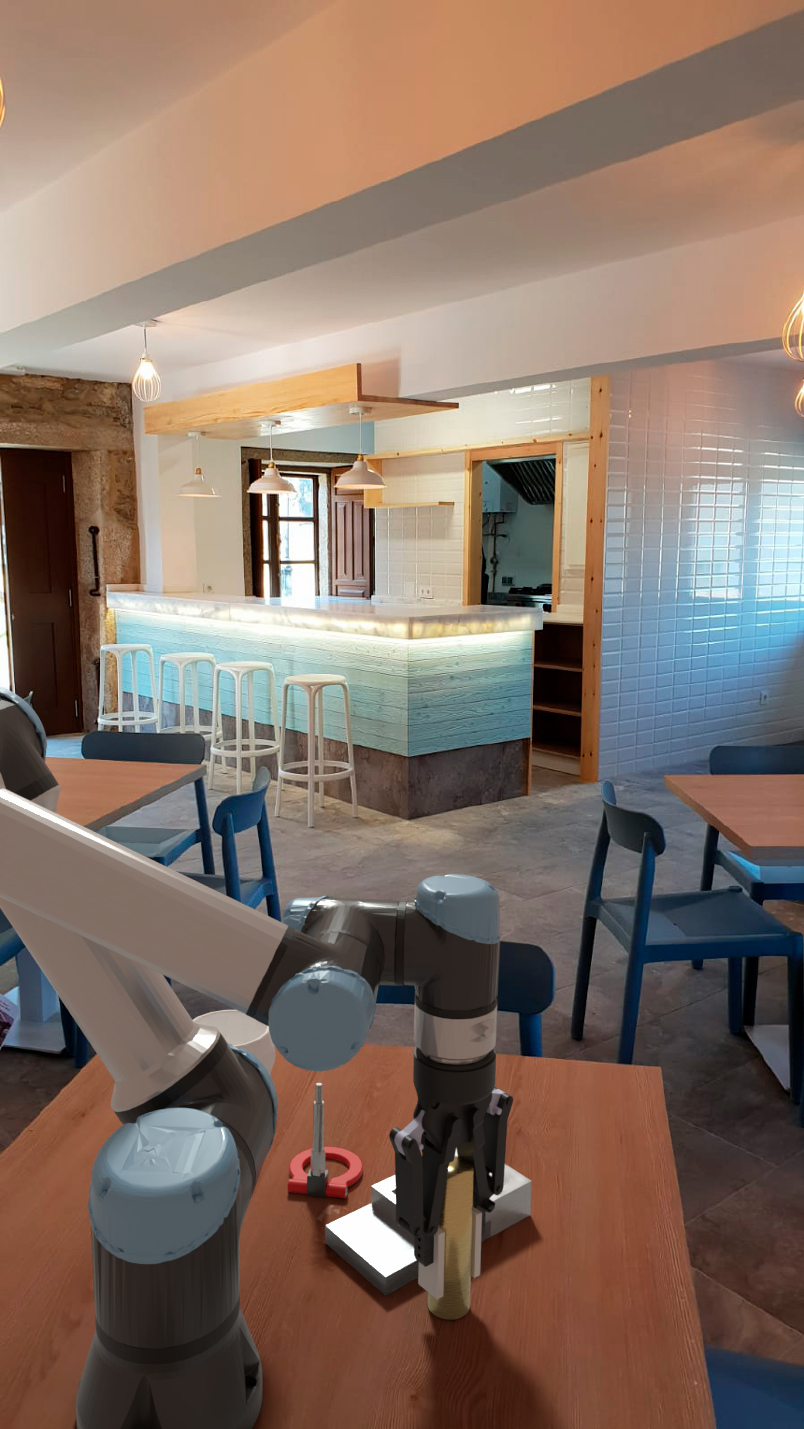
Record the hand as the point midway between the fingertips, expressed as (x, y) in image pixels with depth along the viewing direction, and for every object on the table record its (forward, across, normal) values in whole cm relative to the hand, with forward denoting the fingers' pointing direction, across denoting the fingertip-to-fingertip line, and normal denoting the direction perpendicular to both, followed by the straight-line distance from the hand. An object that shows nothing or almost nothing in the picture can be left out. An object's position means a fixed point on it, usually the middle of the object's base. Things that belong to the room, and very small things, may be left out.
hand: (449, 1278), depth 98 cm
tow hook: (+3, +3, +25) cm, 25 cm away
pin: (+3, 0, 0) cm, 3 cm away
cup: (+3, +3, +47) cm, 47 cm away
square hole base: (+3, +6, +10) cm, 12 cm away
